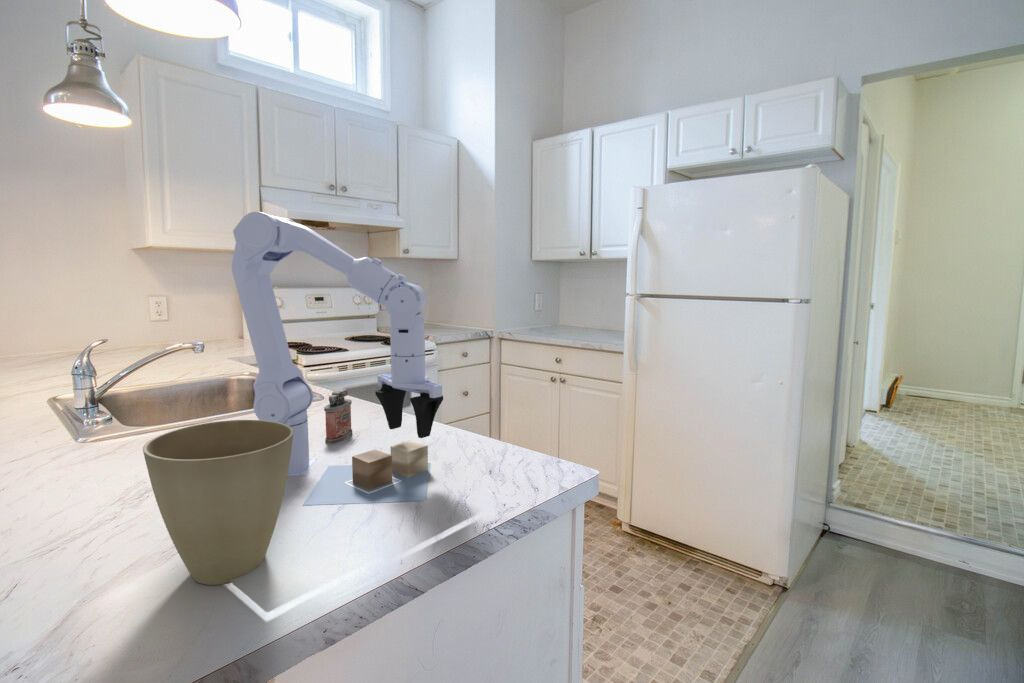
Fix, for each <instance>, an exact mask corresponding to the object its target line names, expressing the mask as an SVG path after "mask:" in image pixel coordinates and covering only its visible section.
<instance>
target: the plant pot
mask: <svg viewBox="0 0 1024 683" xmlns="http://www.w3.org/2000/svg"><path fill="white" fill-rule="evenodd" d="M292 440H293V429H292V428H291V427H290V426H288V425H286V424H283V423H279V422H273V421H265V420H259V419H231V420H221V421H220V420H219V421H212V422H205V423H199V424H195V425H190V426H185V427H180V428H177V429H174V430H171V431H168V432H166V433H165V432H164V433H163V434H159V435H158V436H156V437H153V438H151V439H150V440H148V441H147V442H146V443H145V444H144V445H143V447H142V452H143V456H144V460H145V465H146V469H147V473H148V477H149V481H150V484H151V487H152V491H153V494H154V497H155V502H156V504H157V507H158V509H159V512H160V515H161V518H162V521H163V523H164V524H165V528H166V530H167V533H168V535H169V537H170V539H171V541H172V543H173V546H174V548H175V549H176V551H177V554H178V555H179V557H180V559H181V560H182V562H183V564H184V566H185V567H186V570H187V572H188V573H189V575H190V576H191V577H192V580H194V581H195V582H196V583H198V584H201V585H207V586H216V585H217V586H219V585H224V584H229V583H232V581H231V580H232V579H236V578H238V577H239V578H240V577H241V576H244V575H246V574H248V573H250V572H252V571H254V570H255V569H256V568H258V567H259V566H260V565H262V563H263V562H264V559H265V557H266V554H267V551H268V549H269V546H270V543H271V540H272V538H273V535H274V531H275V528H276V524H277V521H278V518H279V513H280V510H281V506H282V503H283V499H284V494H285V489H286V485H287V481H288V480H287V479H288V476H287V475H288V470H289V463H290V456H291V448H292Z"/></svg>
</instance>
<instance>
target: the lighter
mask: <svg viewBox="0 0 1024 683" xmlns="http://www.w3.org/2000/svg"><path fill="white" fill-rule="evenodd" d="M348 393H349V392H348V390H347V389H346V388H345V389H340V390H339V391H333V392H331V395H328V402H329V404H327V405H325V406H324V407H323V410H324V413H325V438H324V439H325V441H324V442H325V444H327V445H333V444H338V443H341V442H343V441H345V440H346V439H348V438H350V437H351V436H352V435H353V429H352V410H351V409H352V407H351V405H352V403H353V402H352V399H348V398H345V397H347V396H348V395H349V394H348Z"/></svg>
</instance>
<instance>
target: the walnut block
mask: <svg viewBox="0 0 1024 683" xmlns="http://www.w3.org/2000/svg"><path fill="white" fill-rule="evenodd" d="M351 461H352V462H351V463H352V464H351V465H352V473H353V483H354V484H357V485H359V486H361V487H363V488H366V489H368V490H371V489H374V488H377V487H379V486H382V485H385V484H387V483H390V482H392V455H391V454H389V453H387V452H383V451H380V450H378V449H371V450H369V451H365V452H362V453H359V454H355V455H352V456H351Z"/></svg>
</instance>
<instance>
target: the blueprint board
mask: <svg viewBox="0 0 1024 683" xmlns="http://www.w3.org/2000/svg"><path fill="white" fill-rule="evenodd" d="M431 465H432V464H431V462H428V470H427V471H425V472H422V473H419V474H417V475H414V476H411V477H409V478H407V477H405V476H402V475H399V474H397V473H394V472H392V482H390V483H387V484H385V485H382V486H379V487H377V488H374V489H371V490H368V489H366V488H363V487H361V486H359V485H357V484H354V483H353V473H352V464H350V465H349V464H348V465H347V464H345V465H343V464H342V465H341V464H340V465H328V466H327V467H326V469H325V470H324V472H323V473H322V475H321V476H320V478H319V479H318V481H317V482H316V484H315V485H314V487H313V489H312V490H311V492H310V493H309V495H308V496H307V498H306V499H305V501H304V502H303V503H302V507H303V506H325V505H326V506H330V505H331V506H332V505H355V504H356V505H357V504H358V505H359V504H381V503H382V504H384V503H388V504H389V503H408V502H409V503H412V502H413V503H415V502H427V494H428V487H429V480H430V479H429V478H430V474H431V472H430V471H431Z"/></svg>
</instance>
